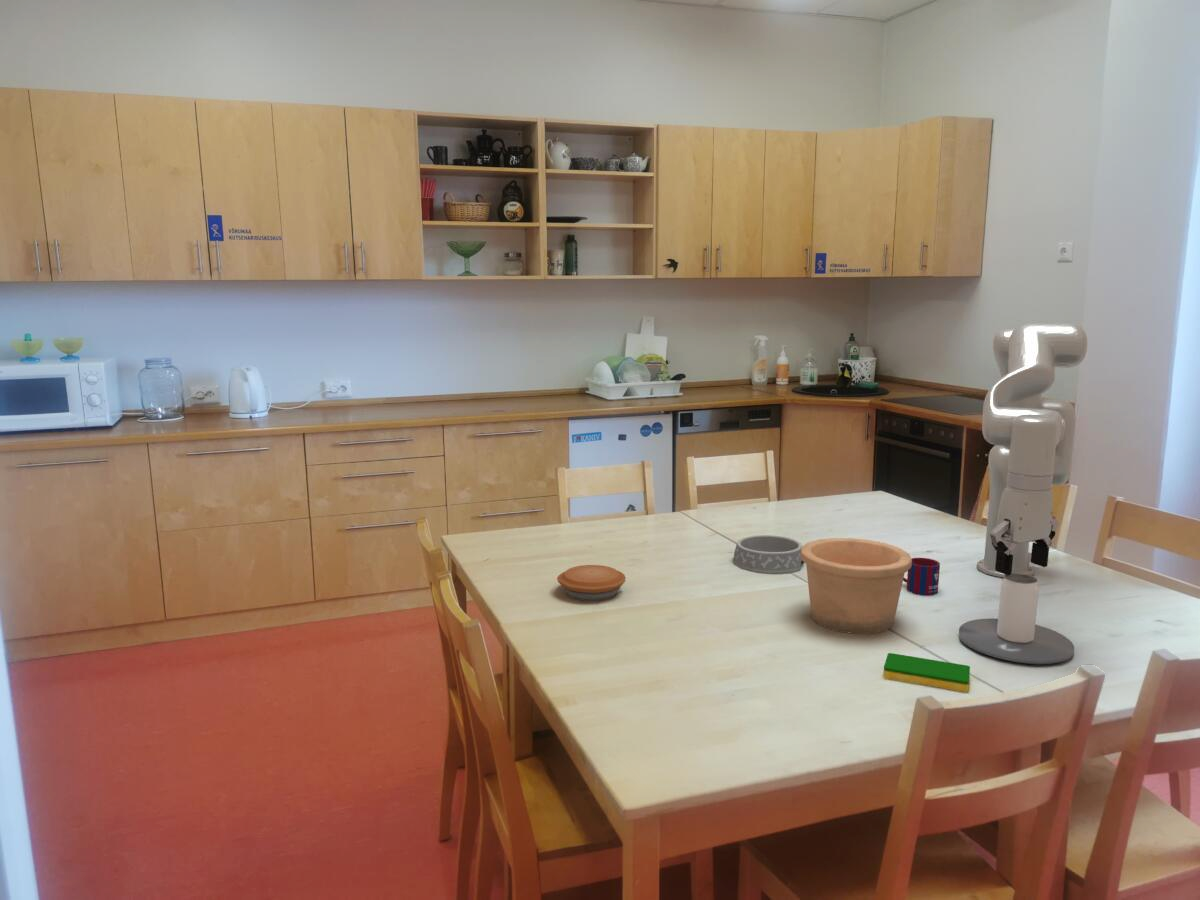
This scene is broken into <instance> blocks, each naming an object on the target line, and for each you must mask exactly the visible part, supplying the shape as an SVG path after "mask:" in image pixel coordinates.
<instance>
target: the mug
mask: <svg viewBox="0 0 1200 900" xmlns="http://www.w3.org/2000/svg"><path fill="white" fill-rule="evenodd" d="M911 559H912V566H911V568H910V569H909V570H908V571H907V575H906V576H907V578H905V577H904V578H903V582H904V583H906V590H907V592H910V593H911V592H912V593H911V594H914V595H918V594H919V596H935V595H937V594H938V592H939V582H940V581H939V580H940V568H941V563H940V562H939V561H938V560H936V559H933V558H928V557H911ZM934 594H935V595H934Z"/></svg>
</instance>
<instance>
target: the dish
mask: <svg viewBox="0 0 1200 900" xmlns="http://www.w3.org/2000/svg"><path fill="white" fill-rule="evenodd" d="M997 625H998V617H997V618H992V617H991V618H979V619H978V618H976V619H972V620H969V621H966V622H963V623H962V624H961V625H959V628H958V637H959V639H960V641H962V643H963V644H965V645H966V646H967V647H969V648H971V649H973V650H975V651H977V652H979V653H982V654H984V655H987V656H989V657H993V658H996V659H1001V660H1005V661H1009V662H1015V663H1020V664H1021V663H1023V664H1033V665H1046V664H1047V665H1050V664H1057V663H1062V662H1065V661H1067V660H1069V659H1071V658H1072V657H1073V656H1074V653H1075V646H1074V644H1073V642H1072V641H1071V640H1070V638H1068V637H1067V636H1065V635H1064V634H1061V633H1059V632H1057V631H1055V630H1053V629H1050V628H1049V627H1046V626H1042V625H1039V624H1036V623H1035V633H1034V639H1033V640H1032V641H1031V642H1030V643H1025V644H1020V643H1012V642H1008V641H1006V640H1003V639H1001V638H1000V637H999V636H998V634H997Z"/></svg>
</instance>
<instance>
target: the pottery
mask: <svg viewBox="0 0 1200 900" xmlns="http://www.w3.org/2000/svg"><path fill="white" fill-rule="evenodd" d="M911 558H912V557H911V555H910V553H909V552H907V551H905V550H904V549H902V548H901V547H898V546H895V545H892V544H890V543H889V544H888V543H887V542H886V543H885V542H880V541H876V540H871V539H863V538H862V539H861V538H853V537H852V538H851V537H833V538H831V537H830V538H822V539H816V540H813V541H808V542H806V543H805V544H804V545H802V547H801V560H802V561H801V562H803V563H805V565H806V566H805V567H806V575H807V585H808V595H809V597H808V598H809V605H810V618H812V619H813V621H815V622H816V623H817V624H818V625H821V626H822V627H825V628H826V629H829V628H830V629H829V630H832V629H834V630H833V631H836V630H838V631H837V632H839V631H842V632H841V633H846V632H850V633H849V634H853V633H872V634H877V633H876V632H879V633H882V631H883V632H885V631H887V629H888V630H889V629H892V627H893V625H894V624H895V618H896V614H897V610H898V605H899V601H900V600H899V599H900V596H901V591H902V586H903V582H904V581H903V578H905V573H908V570H909V569H910V568H911V566H912V559H911Z"/></svg>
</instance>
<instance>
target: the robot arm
mask: <svg viewBox="0 0 1200 900" xmlns="http://www.w3.org/2000/svg"><path fill="white" fill-rule="evenodd" d="M992 350H993V354H994V359H995V360H996V364H997V366H998V369H999V372H1000V378H999V379H998V380H997V381H995V383H994V384H993V385H991V387H990V388H989V390H988V391H987V393H986V394H985V395H986V396H985V397H984V400H983V405H982V421H981V422H982V424H981V429H982V432H981V433H982V435H983V438H984V440H985V441H986V442H987V443H989V444H991V445H993V446H992V448H991V449H990V451H989V453H988V474H989V493H988V494H989V496H988V497H989V498H988V512H987V522H986V534H985V546H984V559H980V560H978V561H977V562H976V568H977V570H979V572H982V573H984V574H986V575H990V576H994V577H998V578H1003V579H1004V578H1005V577H1004V576H1005V575H1011V573H1018V574H1025V575H1029V576H1032V577H1033V575H1035V574H1034V573H1035V569H1034V567H1032V566H1031V565H1030V563H1031V564H1034V565H1037V566H1040V567H1042V568H1046V567H1048V564H1049V554H1050V553H1049V552H1050V547H1051V546H1052V544H1053V541H1052V540H1053V539H1054V538H1055V537H1056V531H1057V529H1058V526H1059V525H1060V522H1059V521H1058V519H1055V518H1054V517H1053V513H1054V512H1053V509H1054V508H1053V507H1054V505H1053V504H1054V503H1053V501H1054V500H1053V488H1052V487H1053V486H1055V487H1056V486H1063V485H1065V484H1066V483H1067V482H1068V481H1069V478H1070V475H1071V469H1072V462H1073V455H1074V454H1073V452H1074V443H1075V435H1076V434H1075V432H1076V422H1077V421H1076V418H1077V417H1076V410H1075V407H1074V405H1073V404H1072V403H1071V402H1069V401H1067V400H1064V399H1051V398H1050V399H1049V398H1043V397H1042V394H1044V393H1045V392H1047V391H1049V390H1050V389H1051V387H1052V386H1053V384H1054V382H1055V379H1056V373H1055V372H1056V371H1055V368H1061V369H1063V368H1070V369H1071V368H1074V367H1076V366H1077V367H1078V365H1080V364H1081V363H1082V362H1083V361H1084V360H1085V357H1086V355H1087V350H1088V336H1087V334H1086V331H1085V329H1084V328H1083V327H1082V326H1081V325H1079V324H1076V323H1068V322H1066V323H1064V322H1063V323H1062V322H1061V323H1060V322H1058V323H1057V322H1055V323H1054V322H1044V323H1043V322H1031V323H1030V322H1029V323H1025V324H1021V325H1019V326H1017V327H1014V328H1004V329H1002V330H999V331H998V332H996V333H995V334H994V336H993V341H992ZM1030 542H1032V544H1031V552H1029V551H1030V550H1029V549H1030Z"/></svg>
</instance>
